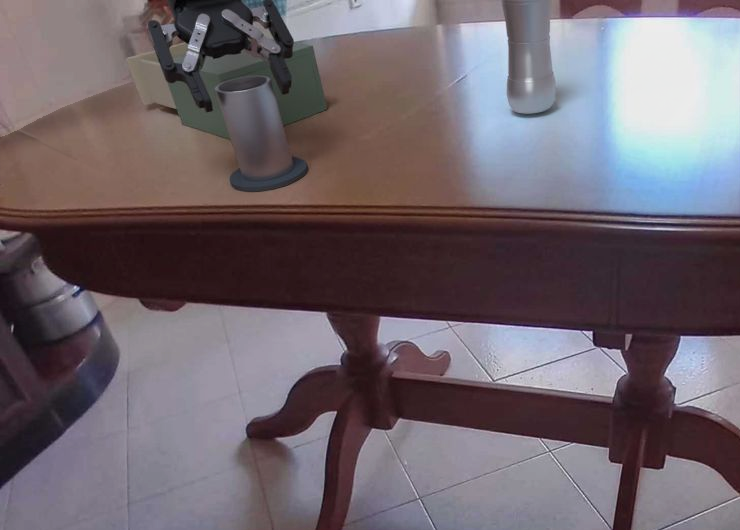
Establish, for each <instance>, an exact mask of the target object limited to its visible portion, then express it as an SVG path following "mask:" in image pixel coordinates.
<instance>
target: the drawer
mask: <svg viewBox="0 0 740 530" xmlns="http://www.w3.org/2000/svg"><path fill="white" fill-rule="evenodd" d="M187 48H188V44H187V43H185V42H183V41H182V42H180V43H176V44H173V45H172V46H171V47H170V48H169V50H170V53H171V55H172V58H175V57H179V56H182V55H186V53H187ZM124 59H125V62H126V64H127V67H128V70H129V72H130V75H131V78H132V80H133V83H134V86H135V88H136V91H137V93H138V97H139V99H140V101H141V104H142V105H144V106H149V105H151V104H158V105H160V106H161V105H162V106H165V107H167V108H172V109H175V110H177V108H176V106H175V103H174V100H173V97H172V94H171V92H170V89H169V86H168V83H167V81H166V80H165V77H164V74H163V72H162V69H161V66H160V63H159V61H158V58H157V55H156V52H155V50H151V51H150V50H149V51H147V52H143V53H139V54H136V55H131V56H129V57H125V58H124Z"/></svg>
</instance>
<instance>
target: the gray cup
mask: <svg viewBox="0 0 740 530" xmlns="http://www.w3.org/2000/svg"><path fill="white" fill-rule="evenodd" d="M215 92H216V95H217V98H218V101H219V104H220V107H221V111H222V114H223V117H224V120H225V123H226V126H227V129H228V132H229V136H230V139H231V140H230V139H229V140H230V141H231V145H232V148H233V151H234V154H235V158H236V160H237V161H236V162H237V164H238V168H240V170H241V173H242V176H243V178H244V179H246V180H249V181H265V180H271V179H275V178H278V177H281V176H283V175H285V174H287V173H289V172H290V171H291V170H292V169H293V168H294V164H293V161H292V157H293V156H292V153H291V149H290V146H289V142H288V139H287V136H286V130H285V128H284V127H285V126H283V124H282V120H281V116H280V112H279V109H278V105H277V101H276V98H275V94H274V90H273V87H272V83H271V79H270V78H269V77H266V76H247V77H241V78H236V79H232V80H229V81H226V82H223V83H221V84H219V85H218V86H216V87H215Z"/></svg>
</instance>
